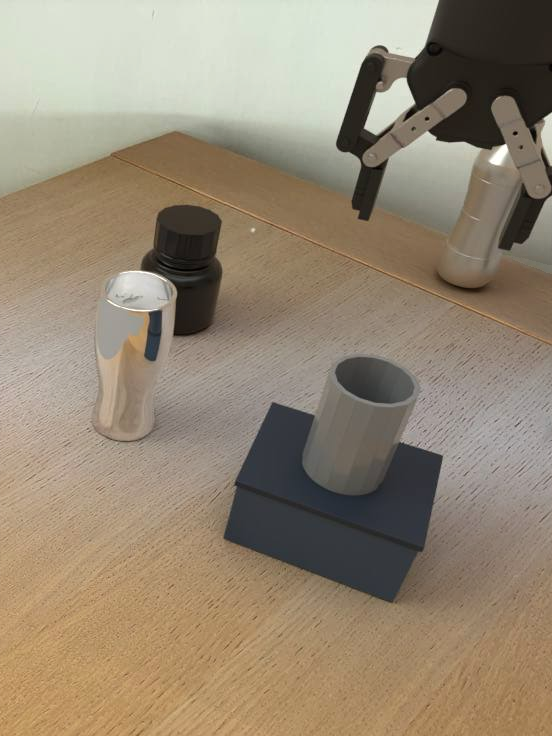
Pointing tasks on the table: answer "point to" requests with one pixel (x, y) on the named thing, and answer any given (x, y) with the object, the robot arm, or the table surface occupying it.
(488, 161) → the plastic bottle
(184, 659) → the table surface
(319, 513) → the storage box
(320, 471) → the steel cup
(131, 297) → the beer glass
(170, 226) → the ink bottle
